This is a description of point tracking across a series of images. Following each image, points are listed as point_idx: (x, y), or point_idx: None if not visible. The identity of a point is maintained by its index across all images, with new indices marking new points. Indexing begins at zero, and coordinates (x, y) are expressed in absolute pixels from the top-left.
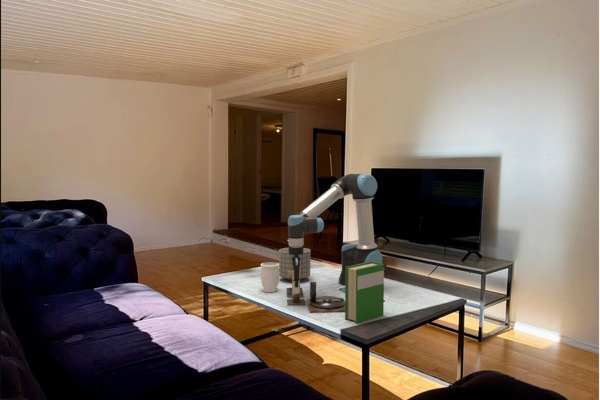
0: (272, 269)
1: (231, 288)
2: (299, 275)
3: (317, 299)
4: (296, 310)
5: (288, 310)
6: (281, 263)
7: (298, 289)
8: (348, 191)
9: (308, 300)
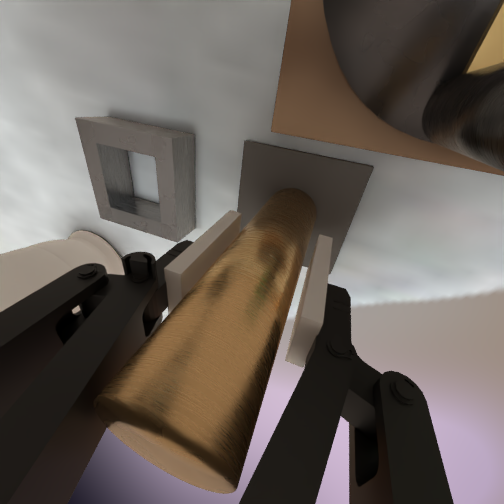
0: None
1: None
2: (246, 349)
3: (419, 36)
4: (458, 262)
5: (425, 298)
6: None
7: (329, 262)
8: None
9: (315, 126)
